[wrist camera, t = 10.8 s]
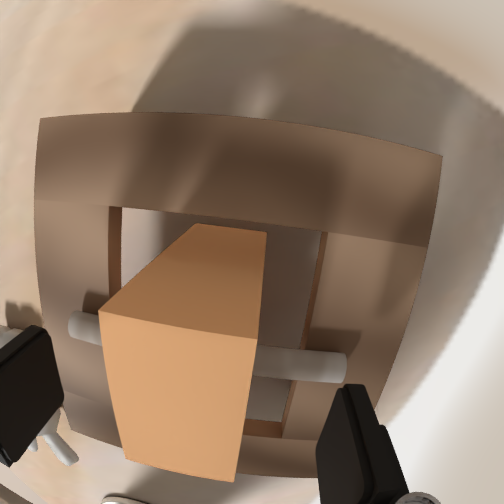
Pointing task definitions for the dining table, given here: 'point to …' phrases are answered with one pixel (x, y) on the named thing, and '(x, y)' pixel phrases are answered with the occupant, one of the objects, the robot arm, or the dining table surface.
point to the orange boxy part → (186, 351)
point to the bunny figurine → (56, 443)
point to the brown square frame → (246, 209)
